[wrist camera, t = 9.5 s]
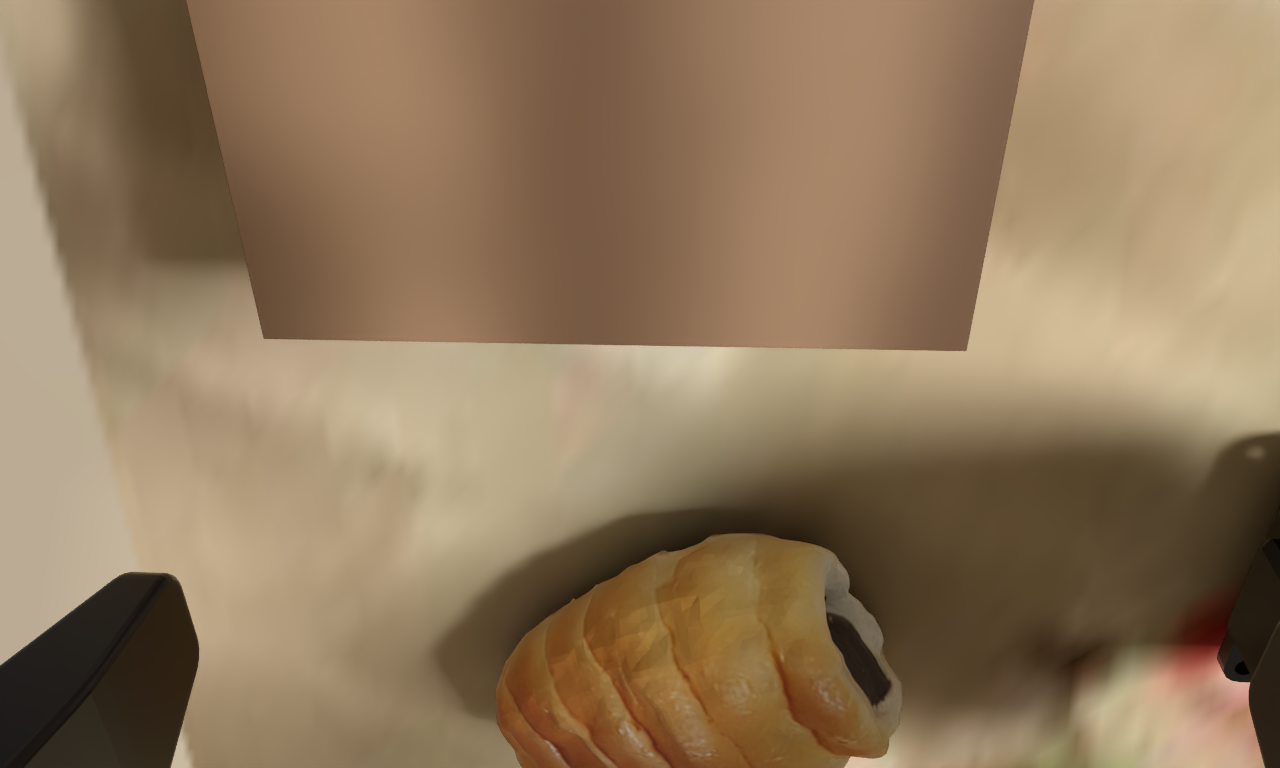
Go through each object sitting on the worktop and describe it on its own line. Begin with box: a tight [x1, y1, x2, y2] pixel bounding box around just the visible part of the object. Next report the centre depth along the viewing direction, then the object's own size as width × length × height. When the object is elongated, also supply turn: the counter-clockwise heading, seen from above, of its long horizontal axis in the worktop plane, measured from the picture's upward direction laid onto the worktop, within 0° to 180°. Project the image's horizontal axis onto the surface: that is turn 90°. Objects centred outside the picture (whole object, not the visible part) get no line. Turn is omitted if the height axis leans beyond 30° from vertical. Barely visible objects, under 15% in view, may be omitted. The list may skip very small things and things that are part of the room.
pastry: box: [495, 533, 902, 768], centre depth 26 cm, size 9×7×4 cm
